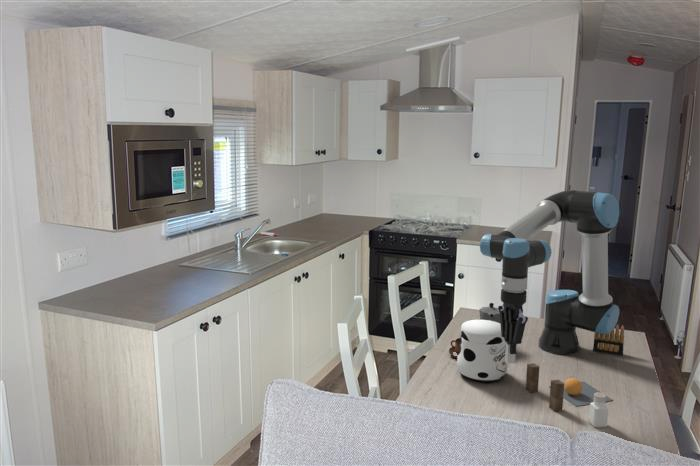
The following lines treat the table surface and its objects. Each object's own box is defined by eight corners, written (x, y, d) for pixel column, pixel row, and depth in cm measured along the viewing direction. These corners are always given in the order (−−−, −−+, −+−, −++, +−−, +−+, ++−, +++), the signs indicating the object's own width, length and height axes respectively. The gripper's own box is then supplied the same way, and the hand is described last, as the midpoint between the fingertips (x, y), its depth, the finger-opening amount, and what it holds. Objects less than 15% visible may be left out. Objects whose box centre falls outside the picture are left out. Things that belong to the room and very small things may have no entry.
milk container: (514, 385, 191) (516, 335, 188) (464, 386, 190) (465, 336, 187) (497, 364, 208) (499, 317, 205) (451, 365, 207) (453, 319, 204)
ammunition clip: (622, 354, 217) (625, 324, 215) (622, 355, 216) (625, 326, 213) (592, 349, 222) (595, 320, 219) (592, 351, 220) (595, 322, 218)
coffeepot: (502, 353, 218) (504, 309, 215) (477, 351, 220) (479, 307, 217) (501, 339, 233) (503, 297, 230) (477, 337, 235) (479, 295, 232)
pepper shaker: (600, 421, 168) (603, 391, 166) (607, 428, 164) (610, 397, 162) (587, 421, 168) (590, 391, 166) (593, 428, 164) (596, 398, 162)
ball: (562, 375, 185) (559, 391, 186) (573, 382, 180) (570, 398, 181) (575, 375, 187) (573, 390, 188) (587, 382, 182) (584, 398, 183)
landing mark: (583, 381, 194) (583, 381, 194) (613, 400, 180) (613, 400, 180) (548, 387, 190) (548, 386, 190) (575, 406, 177) (576, 406, 177)
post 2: (556, 406, 177) (558, 379, 175) (562, 410, 174) (564, 383, 173) (549, 407, 176) (550, 380, 175) (554, 411, 174) (556, 384, 172)
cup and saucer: (445, 360, 213) (446, 344, 212) (451, 348, 224) (452, 333, 223) (478, 364, 208) (478, 349, 207) (482, 352, 219) (483, 337, 218)
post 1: (532, 388, 189) (534, 363, 187) (537, 391, 186) (539, 366, 185) (525, 389, 188) (527, 364, 187) (530, 393, 186) (532, 367, 184)
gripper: (491, 284, 176) (488, 355, 180) (514, 296, 164) (510, 372, 168) (512, 282, 178) (509, 353, 182) (537, 294, 166) (532, 369, 170)
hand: (509, 362), depth 175 cm, fingers closed
